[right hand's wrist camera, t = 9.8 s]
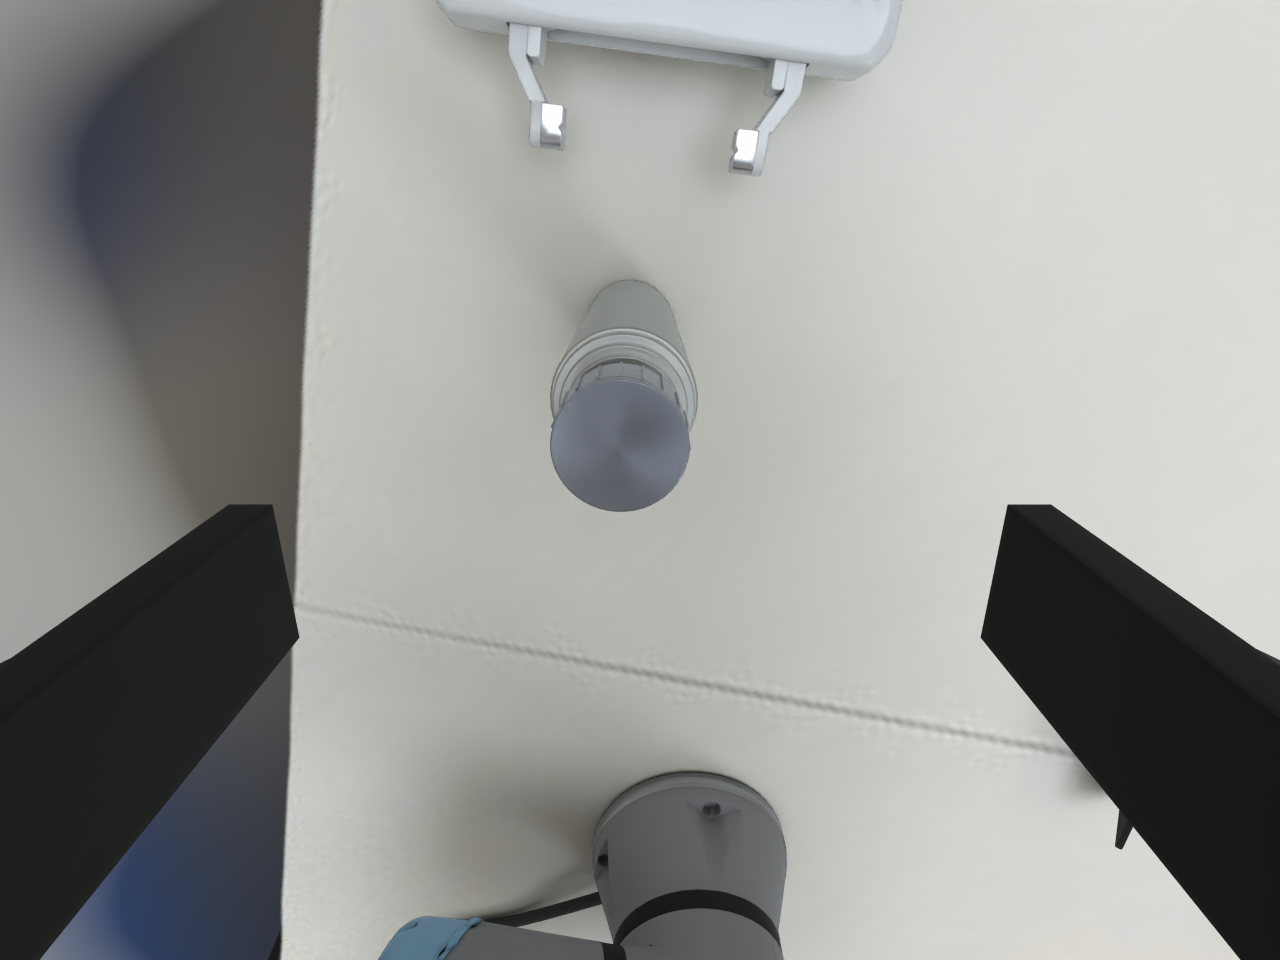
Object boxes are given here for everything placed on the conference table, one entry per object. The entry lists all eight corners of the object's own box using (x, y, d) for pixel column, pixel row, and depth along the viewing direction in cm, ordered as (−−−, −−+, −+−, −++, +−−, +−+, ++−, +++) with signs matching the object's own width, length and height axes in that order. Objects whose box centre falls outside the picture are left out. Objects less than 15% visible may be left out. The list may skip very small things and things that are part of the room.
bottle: (571, 336, 42) (496, 467, 20) (617, 262, 40) (592, 315, 19) (642, 382, 43) (645, 556, 21) (690, 311, 41) (747, 419, 20)
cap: (532, 442, 22) (521, 466, 20) (601, 334, 21) (597, 348, 18) (639, 507, 22) (639, 538, 20) (711, 407, 21) (719, 428, 19)
